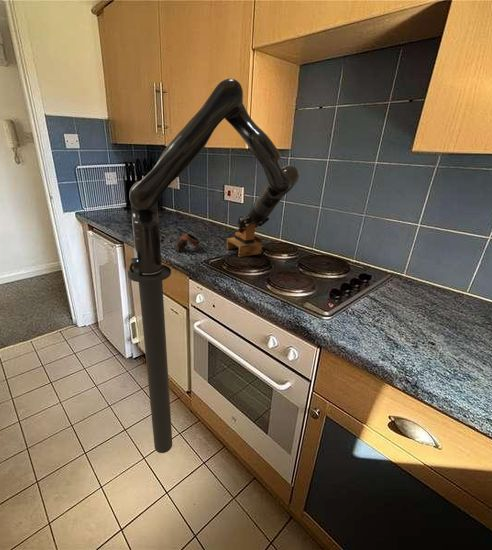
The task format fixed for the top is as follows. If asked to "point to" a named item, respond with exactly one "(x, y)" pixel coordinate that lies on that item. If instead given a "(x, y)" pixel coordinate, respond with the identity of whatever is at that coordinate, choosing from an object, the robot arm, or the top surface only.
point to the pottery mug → (184, 241)
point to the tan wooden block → (246, 246)
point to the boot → (246, 234)
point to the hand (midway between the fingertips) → (245, 230)
